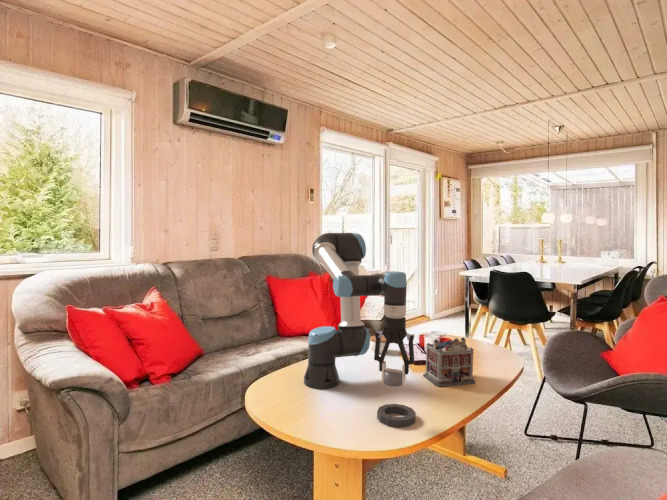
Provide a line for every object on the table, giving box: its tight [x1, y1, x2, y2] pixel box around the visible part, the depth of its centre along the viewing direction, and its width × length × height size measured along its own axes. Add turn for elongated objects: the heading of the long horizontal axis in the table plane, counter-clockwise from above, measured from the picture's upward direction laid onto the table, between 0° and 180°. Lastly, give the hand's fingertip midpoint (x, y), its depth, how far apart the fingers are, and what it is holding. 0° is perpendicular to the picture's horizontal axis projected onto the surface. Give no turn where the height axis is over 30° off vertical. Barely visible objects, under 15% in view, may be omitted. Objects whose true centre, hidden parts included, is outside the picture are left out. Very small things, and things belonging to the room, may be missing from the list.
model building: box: [422, 337, 477, 388], centre depth 190 cm, size 19×14×20 cm
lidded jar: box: [369, 335, 390, 355], centre depth 230 cm, size 11×11×9 cm
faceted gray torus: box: [376, 403, 417, 429], centre depth 151 cm, size 13×13×2 cm
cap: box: [383, 367, 403, 387], centre depth 150 cm, size 6×6×5 cm
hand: (393, 381), depth 150 cm, fingers closed on cap, 6 cm apart
